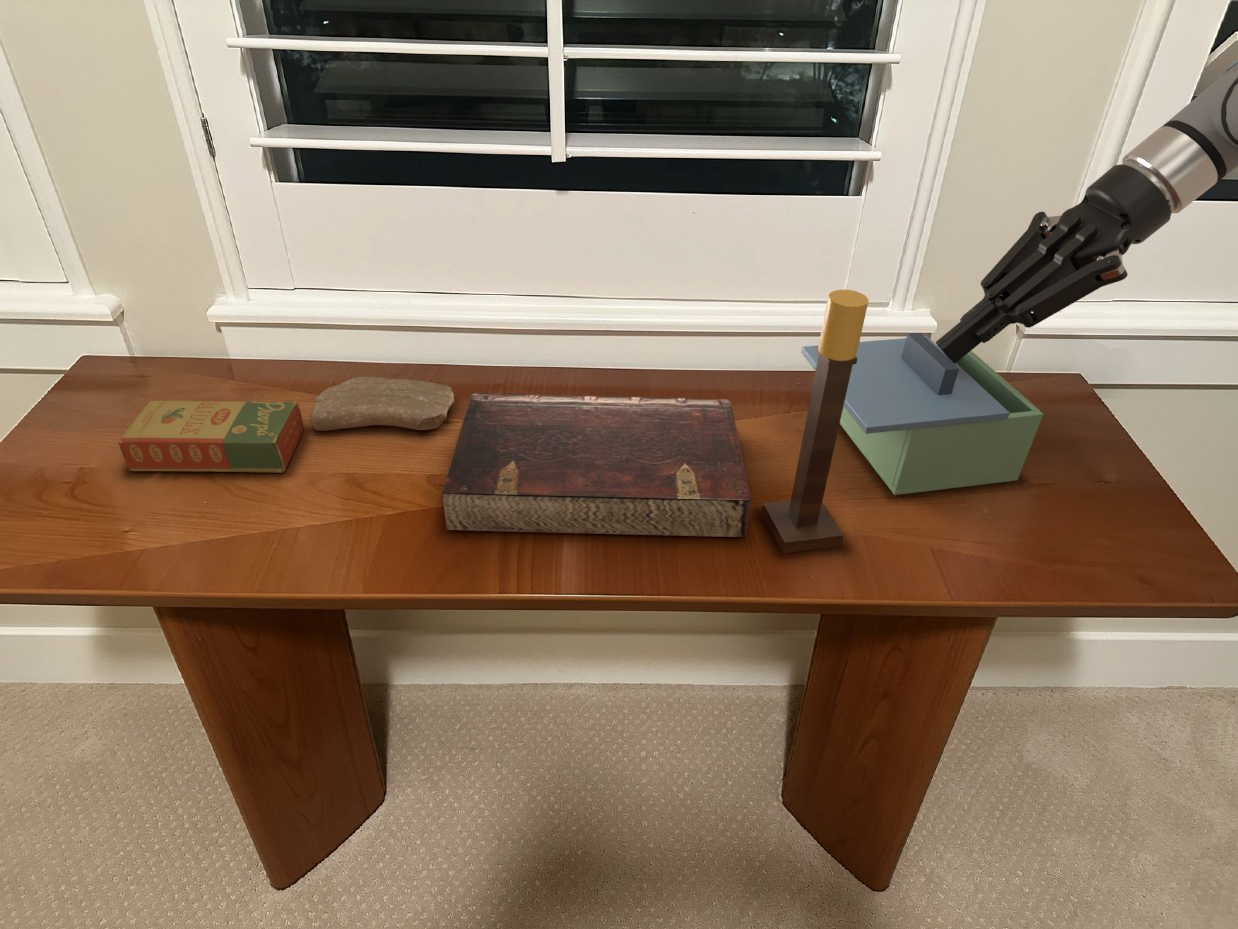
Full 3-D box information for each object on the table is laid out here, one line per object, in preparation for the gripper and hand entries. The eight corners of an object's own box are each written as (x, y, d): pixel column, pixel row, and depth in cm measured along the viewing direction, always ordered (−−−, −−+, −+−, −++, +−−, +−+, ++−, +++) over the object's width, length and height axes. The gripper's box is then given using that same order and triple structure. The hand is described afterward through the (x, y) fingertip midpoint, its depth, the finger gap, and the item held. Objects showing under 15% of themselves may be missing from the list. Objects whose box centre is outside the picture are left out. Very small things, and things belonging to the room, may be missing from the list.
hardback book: (725, 432, 96) (730, 395, 93) (744, 540, 81) (751, 500, 78) (475, 425, 95) (471, 388, 92) (447, 533, 80) (442, 492, 77)
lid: (1007, 419, 84) (1019, 387, 81) (865, 434, 81) (873, 401, 78) (925, 342, 97) (934, 312, 94) (800, 352, 94) (806, 322, 91)
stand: (840, 546, 80) (886, 366, 68) (782, 554, 79) (818, 372, 67) (816, 508, 85) (854, 332, 73) (761, 514, 84) (790, 338, 72)
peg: (864, 355, 70) (877, 300, 67) (836, 364, 68) (848, 309, 65) (837, 339, 72) (848, 286, 69) (810, 348, 70) (820, 294, 68)
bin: (1017, 480, 90) (1044, 414, 85) (894, 495, 87) (913, 427, 82) (943, 404, 102) (962, 342, 97) (833, 415, 99) (846, 352, 94)
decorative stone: (449, 437, 93) (446, 411, 91) (310, 436, 93) (304, 410, 91) (461, 391, 101) (459, 366, 99) (333, 390, 101) (327, 365, 99)
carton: (161, 429, 93) (150, 397, 90) (306, 430, 94) (299, 397, 91) (129, 474, 86) (115, 440, 84) (285, 474, 87) (276, 440, 84)
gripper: (1207, 239, 77) (994, 405, 85) (1114, 192, 88) (930, 343, 95) (1183, 185, 73) (961, 364, 80) (1088, 142, 84) (898, 304, 91)
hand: (945, 352), depth 88 cm, fingers closed
